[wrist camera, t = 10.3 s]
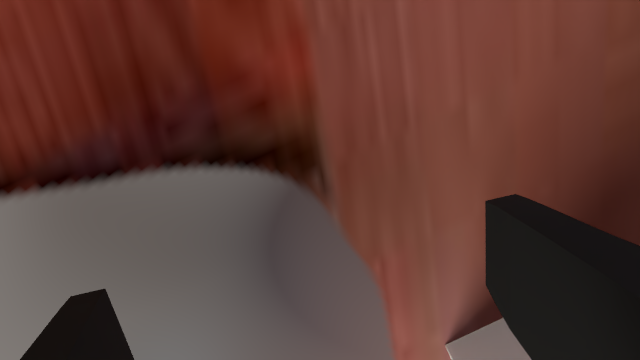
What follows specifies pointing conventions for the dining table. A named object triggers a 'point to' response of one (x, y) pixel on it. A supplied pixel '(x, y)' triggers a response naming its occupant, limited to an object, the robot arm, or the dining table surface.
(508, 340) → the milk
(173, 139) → the dining table surface
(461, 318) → the dining table surface
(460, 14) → the dining table surface
